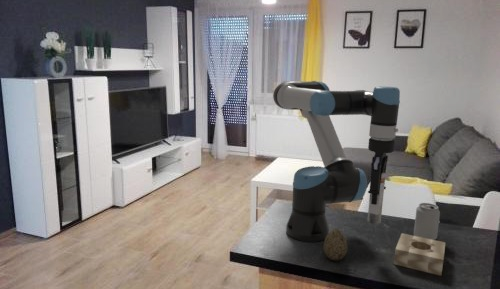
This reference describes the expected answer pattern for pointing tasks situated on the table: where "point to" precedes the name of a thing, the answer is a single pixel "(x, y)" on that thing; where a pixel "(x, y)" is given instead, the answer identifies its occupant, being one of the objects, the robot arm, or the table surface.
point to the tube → (374, 217)
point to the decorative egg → (335, 245)
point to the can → (427, 221)
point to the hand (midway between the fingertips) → (375, 210)
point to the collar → (420, 254)
